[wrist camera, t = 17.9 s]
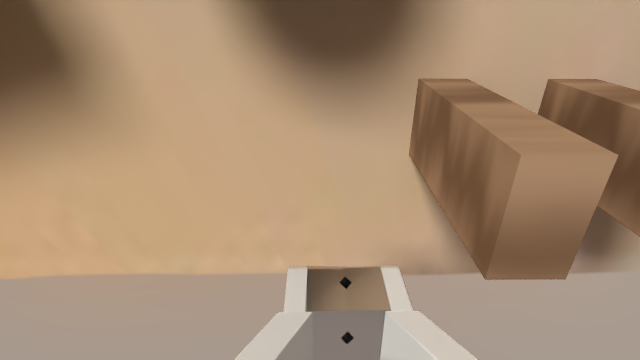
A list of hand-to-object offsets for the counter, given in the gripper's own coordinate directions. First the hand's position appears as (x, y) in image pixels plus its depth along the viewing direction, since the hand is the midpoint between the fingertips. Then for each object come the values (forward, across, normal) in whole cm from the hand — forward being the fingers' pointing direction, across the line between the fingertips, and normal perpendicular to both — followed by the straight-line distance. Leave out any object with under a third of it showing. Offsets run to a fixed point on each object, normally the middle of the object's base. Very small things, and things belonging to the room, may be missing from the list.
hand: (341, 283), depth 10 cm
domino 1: (+14, -7, 0) cm, 16 cm away
